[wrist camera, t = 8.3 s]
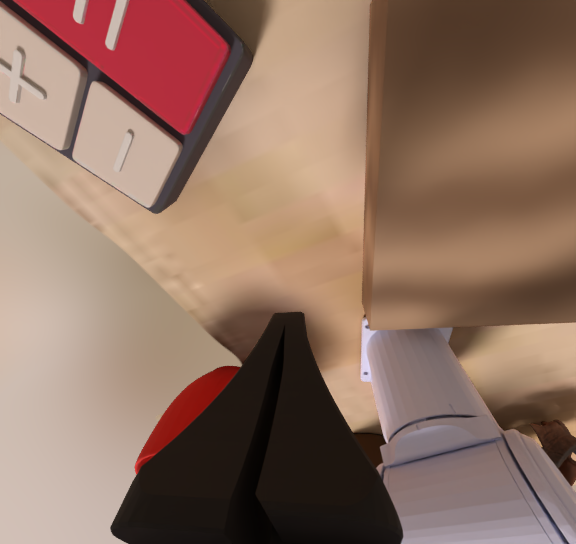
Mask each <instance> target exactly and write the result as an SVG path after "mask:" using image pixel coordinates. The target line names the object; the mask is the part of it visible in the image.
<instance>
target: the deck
mask: <svg viewBox="0 0 576 544" xmlns="http://www.w3.org/2000/svg"><path fill="white" fill-rule="evenodd" d="M362 304H363V308H364V311H365V315H366V318H367V322H368V325H369V329H370V331H375V330H400V329H425V328H449V327H474V326H499V325H523V324H548V323H572V322H576V0H372V2H371V4H370V27H369V64H368V100H367V137H366V173H365V210H364V246H363V283H362Z"/></svg>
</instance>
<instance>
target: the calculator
mask: <svg viewBox="0 0 576 544" xmlns="http://www.w3.org/2000/svg"><path fill="white" fill-rule="evenodd" d="M252 62H253V56H252V53H251V51H250V49H249V48H248V47H247V46H246V45H245V43H244V42H243V41H242V40H241V38H240V37H239V36H238V35H237V34H236V33H235V32H234V31H233V30H232V29H231V28H230V27H229V26H228V25H227V24H226V23H225V22H224V21H223V20H222V19H221V18H220V17H219V16H218V15H217V14H216V13H215V12H214V11H213V10H212V8H211V7H210V6H209V5H208V4H207V3H206V2H205V1H204V0H0V114H1V115H3V116H4V117H6V118H7V119H9V120H10V121H12V122H13V123H15V124H16V125H18V126H20V127H21V128H23V129H24V130H26V131H27V132H29V133H30V134H32V135H33V136H35V137H36V138H38V139H40V140H41V141H43V142H44V143H46V144H47V145H49V146H50V147H52V148H53V149H55V150H57V151H58V152H60V153H61V154H63V155H64V156H66V157H67V158H69V159H70V160H72V161H73V162H75V163H77V164H78V165H80V166H81V167H83V168H84V169H86V170H87V171H89V172H90V173H92V174H94V175H95V176H97V177H98V178H100V179H101V180H103V181H104V182H106V183H107V184H109V185H111V186H112V187H114V188H115V189H117V190H118V191H120V192H121V193H123V194H124V195H126V196H127V197H129V198H131V199H132V200H134V201H135V202H137V203H138V204H140V205H141V206H143V207H144V208H146V209H148V210H149V211H151V212H152V213H155V214H158V213H160V212H162V211H163V210H165V209H166V208H167V207H169V206H170V205H171V204H173V203H174V202H175V201H176V200H177V199H178V197H179V195H180V193H181V191H182V190H183V188H184V186H185V184H186V182H187V181H188V179H189V177H190V175H191V173H192V172H193V170H194V168H195V166H196V164H197V163H198V161H199V159H200V157H201V155H202V154H203V152H204V150H205V148H206V146H207V145H208V143H209V141H210V139H211V137H212V136H213V134H214V132H215V130H216V128H217V126H218V125H219V123H220V121H221V119H222V117H223V116H224V114H225V112H226V110H227V108H228V107H229V105H230V103H231V101H232V99H233V98H234V96H235V94H236V92H237V90H238V89H239V87H240V85H241V83H242V81H243V80H244V78H245V76H246V74H247V72H248V70H249V69H250V67H251V65H252Z"/></svg>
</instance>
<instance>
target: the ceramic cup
mask: <svg viewBox="0 0 576 544" xmlns="http://www.w3.org/2000/svg"><path fill="white" fill-rule="evenodd" d="M240 368H241V367H237V366H223V367H219V368H217V369H215V370H213V371H212V372H210V373H207V374H205V375H203V376H202V377H200V378H198V379H197V380H195V381H194V382H193V383H191V384H190V385H189V386H187V387H186V388H185V389H184V390H183V391H182V392H181V393H180V394H179V395H178V396H177V397H176V399H175V400H174V401H173V402H172V403H171V405H170V406H169V407H168V409H167V410H166V411H165V413H164V414H163V416H162V417H161V419H160V420H159V422H158V424H157V425H156V427H155V429H154V430H153V432H152V434H151V435H150V437H149V439H148V440H147V442H146V444H145V446H144V447H143V449H142V451H141V453H140V455H139V457H138V459H137V462H136V464H135V472H136V474H137V473H138V472H139V470H140V468H141V466H142V465H144V464H145V463H146V462H147V461H148V460H150V459H151V458H152V457H153V456H154V455H155V454H157V453H158V452H159V451H160V450H161V449H162V448H164V447H165V446H166V445H167V444H168V443H169V442H171V441H172V440H173V439H174V438H175V437H176V436H177V435H179V434H180V433H181V432H182V431H183V430H184V429H185V428H186V427H187V426H188V425H189V424H190V423H191V422H192V421H193V420H194V419H195V418H196V417H197V416H198V415H199V414H200V413H202V412H203V410H204V409H205V408H206V407H207V406H208V405H209V404H210V403H211V402H212V401H213V400H214V399H215V398H216V397H217V395H218V394H219V393H220V392H221V391H222V390H223V389H224V388H225V386H226V385H227V384H228V383H229V382H230V380H231V379H232V378H233V377H234V375H235V374H236V373H237V371H238V370H239V369H240Z"/></svg>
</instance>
